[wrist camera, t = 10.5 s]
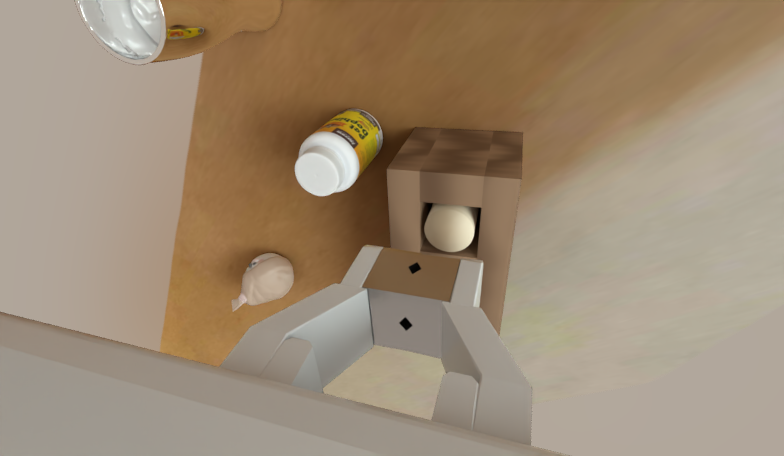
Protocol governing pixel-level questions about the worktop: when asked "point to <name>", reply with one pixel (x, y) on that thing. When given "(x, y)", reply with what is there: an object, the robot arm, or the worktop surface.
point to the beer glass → (171, 25)
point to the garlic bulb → (265, 280)
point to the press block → (460, 198)
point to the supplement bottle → (338, 152)
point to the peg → (451, 226)
